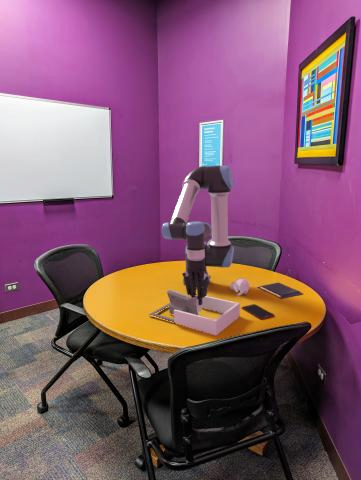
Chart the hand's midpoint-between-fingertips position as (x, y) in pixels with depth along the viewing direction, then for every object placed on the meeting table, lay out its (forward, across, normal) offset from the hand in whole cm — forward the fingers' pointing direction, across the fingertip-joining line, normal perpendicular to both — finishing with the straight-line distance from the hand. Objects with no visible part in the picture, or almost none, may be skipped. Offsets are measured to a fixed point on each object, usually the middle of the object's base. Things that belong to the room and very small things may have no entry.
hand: (197, 311), depth 148 cm
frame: (+3, -12, 0) cm, 12 cm away
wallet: (+4, +20, +50) cm, 54 cm away
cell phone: (+3, +20, +18) cm, 28 cm away
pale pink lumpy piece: (+3, +2, +37) cm, 37 cm away
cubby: (+3, +4, 0) cm, 5 cm away
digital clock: (+3, -7, -1) cm, 8 cm away
